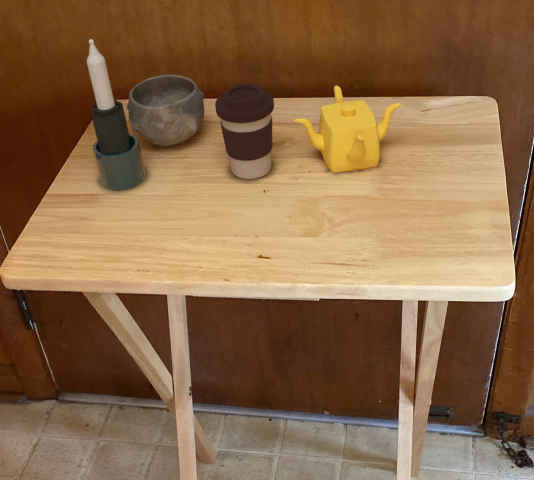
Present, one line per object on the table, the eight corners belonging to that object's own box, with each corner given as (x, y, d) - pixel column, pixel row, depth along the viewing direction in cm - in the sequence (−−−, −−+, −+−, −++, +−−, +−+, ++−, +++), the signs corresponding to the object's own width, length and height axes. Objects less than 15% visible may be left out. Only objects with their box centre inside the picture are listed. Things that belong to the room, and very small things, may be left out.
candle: (109, 167, 148) (76, 34, 132) (136, 164, 148) (108, 31, 131) (106, 182, 145) (73, 47, 128) (135, 179, 145) (105, 44, 128)
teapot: (362, 185, 140) (362, 135, 133) (294, 164, 146) (291, 115, 140) (403, 146, 148) (405, 97, 141) (336, 128, 155) (335, 80, 148)
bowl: (126, 157, 152) (115, 109, 146) (146, 116, 164) (136, 69, 157) (199, 158, 150) (191, 108, 144) (214, 116, 161) (207, 68, 155)
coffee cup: (268, 149, 151) (262, 73, 140) (286, 176, 144) (281, 98, 133) (217, 162, 149) (207, 86, 139) (233, 189, 142) (223, 111, 132)
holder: (109, 195, 143) (100, 161, 139) (95, 174, 149) (87, 140, 144) (151, 181, 146) (144, 147, 141) (137, 161, 151) (129, 128, 146)
